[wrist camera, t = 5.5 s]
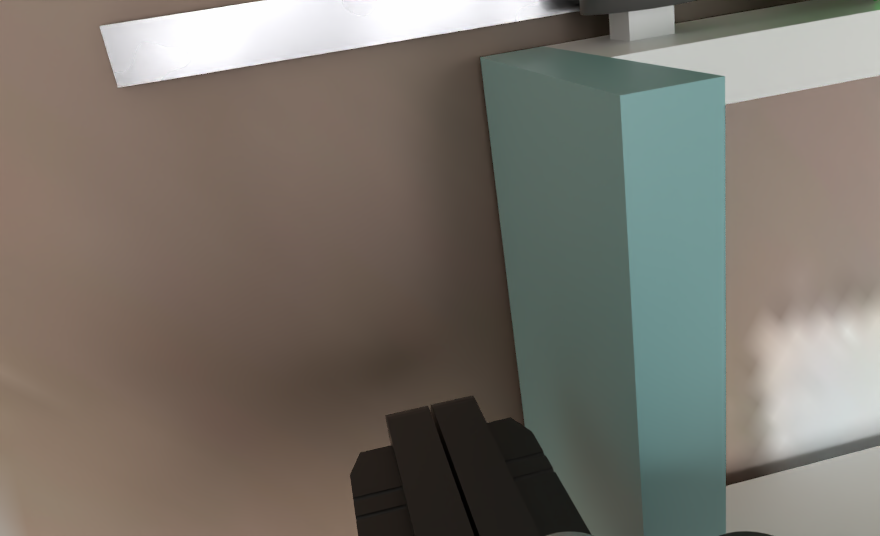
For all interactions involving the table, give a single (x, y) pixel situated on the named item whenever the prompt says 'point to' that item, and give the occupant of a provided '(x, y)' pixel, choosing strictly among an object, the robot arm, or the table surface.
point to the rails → (293, 31)
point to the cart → (653, 259)
